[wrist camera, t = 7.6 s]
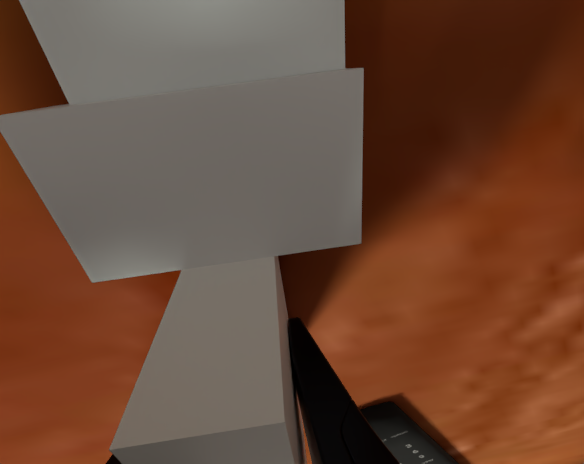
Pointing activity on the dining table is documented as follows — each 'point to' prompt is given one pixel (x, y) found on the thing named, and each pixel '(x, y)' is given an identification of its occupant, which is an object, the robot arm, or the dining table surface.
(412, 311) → the dining table surface
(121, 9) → the tile
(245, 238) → the scraper
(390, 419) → the remote control
